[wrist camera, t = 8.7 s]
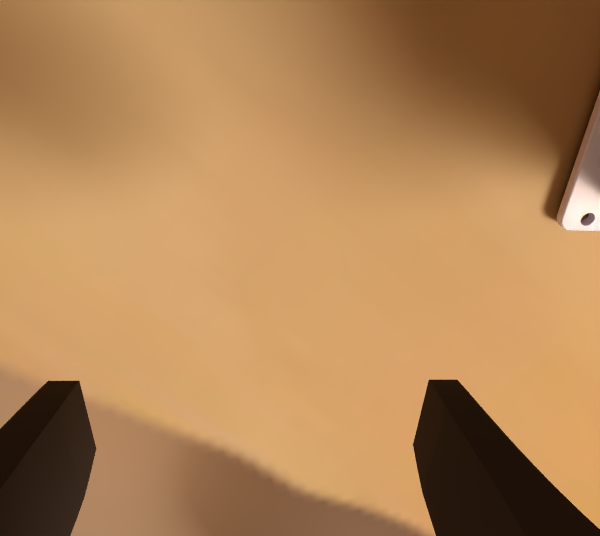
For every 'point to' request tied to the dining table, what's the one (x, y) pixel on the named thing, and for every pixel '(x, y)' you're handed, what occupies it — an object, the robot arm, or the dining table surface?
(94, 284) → the dining table surface
